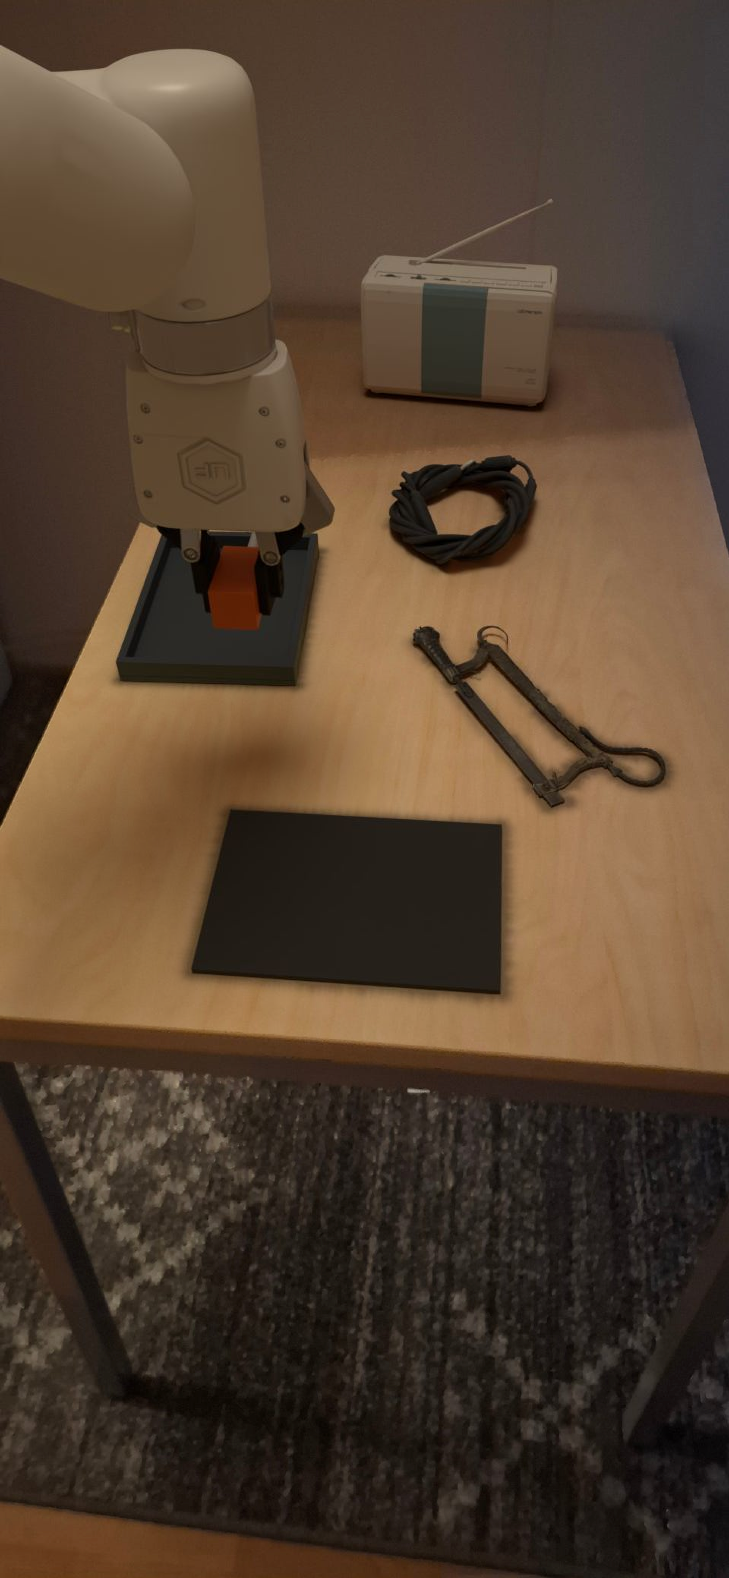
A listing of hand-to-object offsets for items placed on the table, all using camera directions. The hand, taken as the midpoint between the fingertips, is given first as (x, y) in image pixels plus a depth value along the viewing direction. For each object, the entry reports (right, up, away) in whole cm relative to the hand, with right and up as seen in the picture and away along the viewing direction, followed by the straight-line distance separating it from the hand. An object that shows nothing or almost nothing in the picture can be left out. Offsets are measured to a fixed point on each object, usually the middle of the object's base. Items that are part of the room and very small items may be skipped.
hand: (241, 599), depth 70 cm
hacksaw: (+22, -6, +15) cm, 27 cm away
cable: (+18, +13, +33) cm, 39 cm away
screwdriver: (0, +3, +3) cm, 4 cm away
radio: (+19, +34, +51) cm, 64 cm away
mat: (+8, -20, +2) cm, 22 cm away
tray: (-4, +3, +24) cm, 24 cm away
